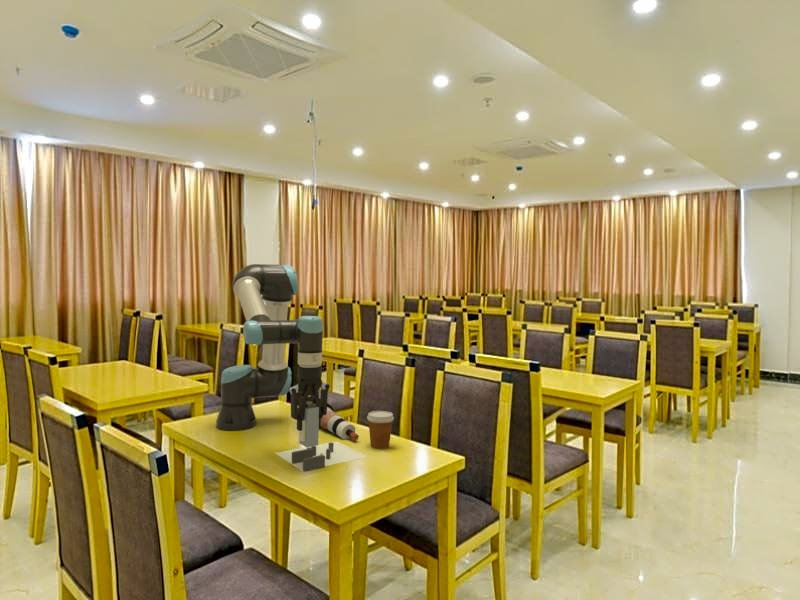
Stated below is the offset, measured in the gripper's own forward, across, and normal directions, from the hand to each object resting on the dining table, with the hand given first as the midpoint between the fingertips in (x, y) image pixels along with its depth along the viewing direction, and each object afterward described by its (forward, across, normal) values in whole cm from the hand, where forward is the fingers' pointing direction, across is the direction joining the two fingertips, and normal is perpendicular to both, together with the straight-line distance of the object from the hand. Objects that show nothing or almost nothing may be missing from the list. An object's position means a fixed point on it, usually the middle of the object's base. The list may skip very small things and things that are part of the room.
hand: (308, 439), depth 171 cm
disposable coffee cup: (+9, +30, +3) cm, 31 cm away
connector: (+2, 0, 0) cm, 2 cm away
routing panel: (+9, +8, +6) cm, 13 cm away
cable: (+9, +25, +28) cm, 39 cm away
